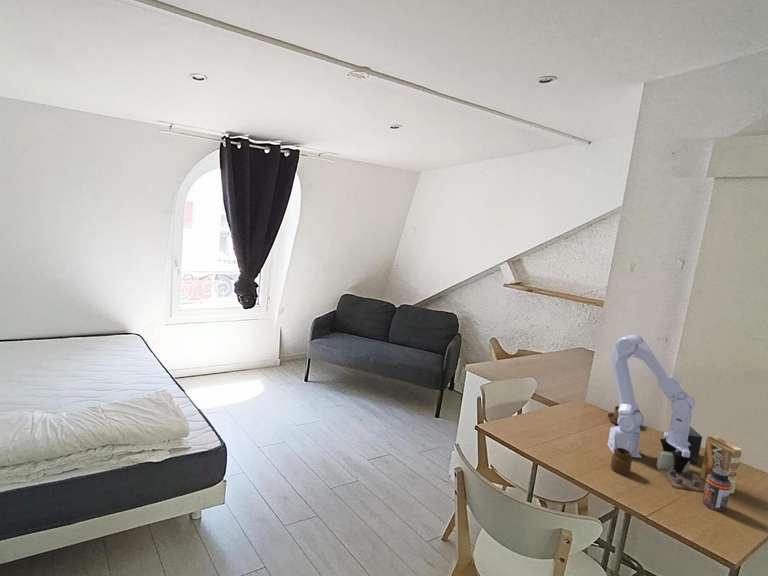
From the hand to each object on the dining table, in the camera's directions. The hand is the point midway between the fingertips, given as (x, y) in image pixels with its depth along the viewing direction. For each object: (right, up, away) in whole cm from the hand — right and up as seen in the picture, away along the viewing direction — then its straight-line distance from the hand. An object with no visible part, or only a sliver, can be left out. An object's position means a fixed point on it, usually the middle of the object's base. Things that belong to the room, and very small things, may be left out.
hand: (672, 466), depth 152 cm
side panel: (0, -2, -7) cm, 7 cm away
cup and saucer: (+3, +3, +37) cm, 37 cm away
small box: (+11, -1, +11) cm, 16 cm away
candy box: (+9, -3, -8) cm, 13 cm away
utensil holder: (-20, -1, -2) cm, 20 cm away
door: (0, -2, 0) cm, 2 cm away
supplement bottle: (0, -4, -19) cm, 20 cm away
